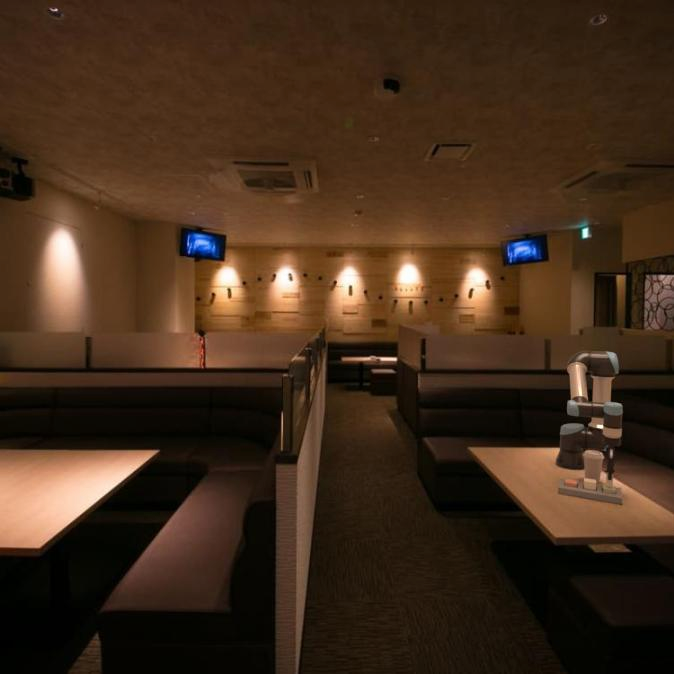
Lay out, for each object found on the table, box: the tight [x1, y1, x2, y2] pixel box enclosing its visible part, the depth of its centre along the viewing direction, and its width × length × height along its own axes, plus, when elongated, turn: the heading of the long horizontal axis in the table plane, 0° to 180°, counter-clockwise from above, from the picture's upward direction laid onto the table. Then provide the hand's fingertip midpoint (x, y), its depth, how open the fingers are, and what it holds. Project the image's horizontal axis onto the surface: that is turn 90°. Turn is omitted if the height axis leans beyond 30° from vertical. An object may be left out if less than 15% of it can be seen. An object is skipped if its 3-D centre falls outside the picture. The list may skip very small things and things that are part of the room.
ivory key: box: [583, 477, 596, 490], centre depth 229 cm, size 5×5×4 cm
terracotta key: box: [565, 478, 578, 488], centre depth 233 cm, size 5×5×4 cm
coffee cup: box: [583, 449, 605, 485], centre depth 246 cm, size 10×10×15 cm
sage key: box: [603, 484, 617, 494], centre depth 225 cm, size 5×5×4 cm
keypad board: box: [558, 478, 623, 506], centre depth 229 cm, size 14×26×3 cm, turn 62°
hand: (609, 485), depth 225 cm, fingers closed
